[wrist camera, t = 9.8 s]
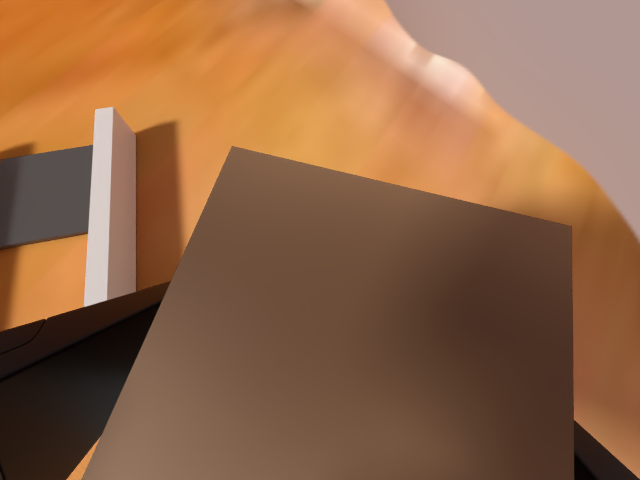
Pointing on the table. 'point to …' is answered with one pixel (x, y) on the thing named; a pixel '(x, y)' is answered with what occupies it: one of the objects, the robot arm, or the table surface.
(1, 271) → the table surface
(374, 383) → the post
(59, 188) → the channel
